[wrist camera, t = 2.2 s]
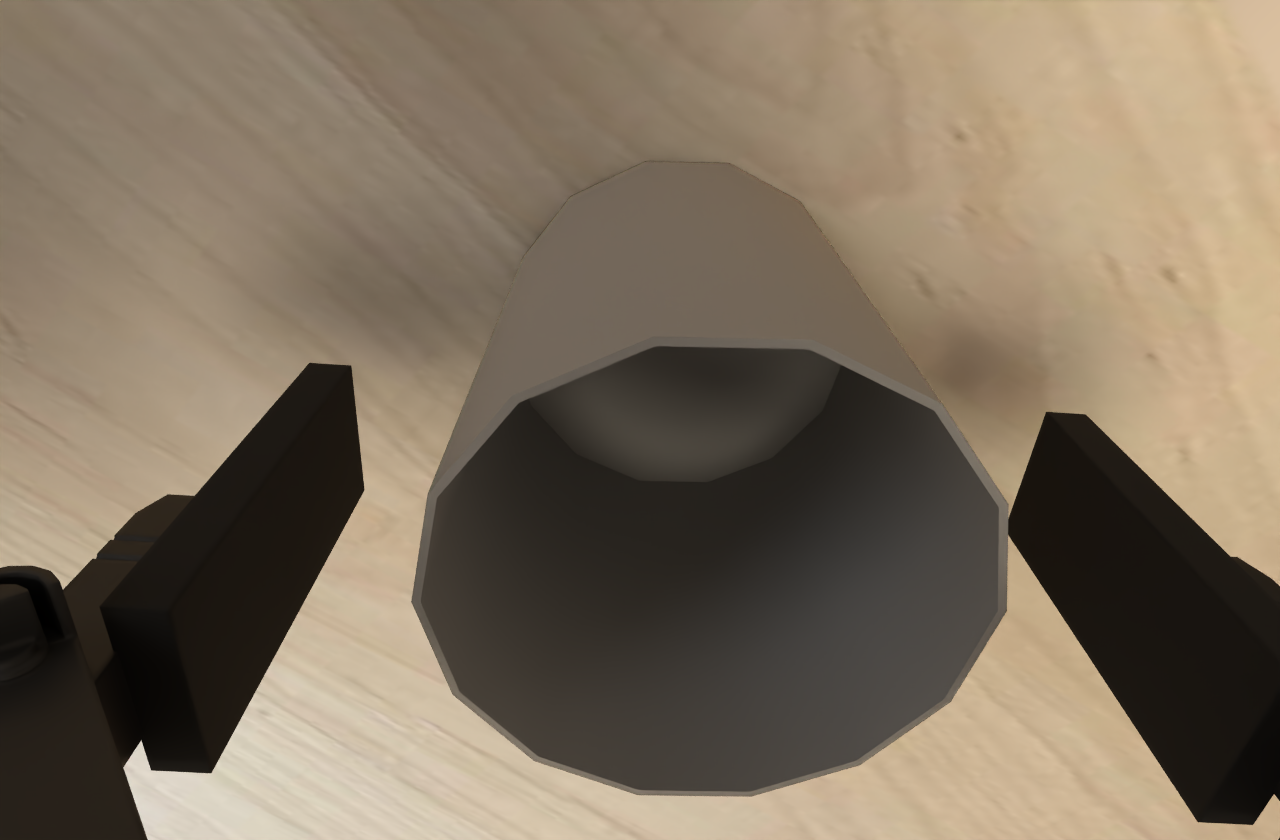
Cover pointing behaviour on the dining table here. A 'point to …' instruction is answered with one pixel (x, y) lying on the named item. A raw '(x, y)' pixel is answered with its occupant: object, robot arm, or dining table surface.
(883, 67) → the dining table surface
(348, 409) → the robot arm
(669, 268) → the cup
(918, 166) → the dining table surface
